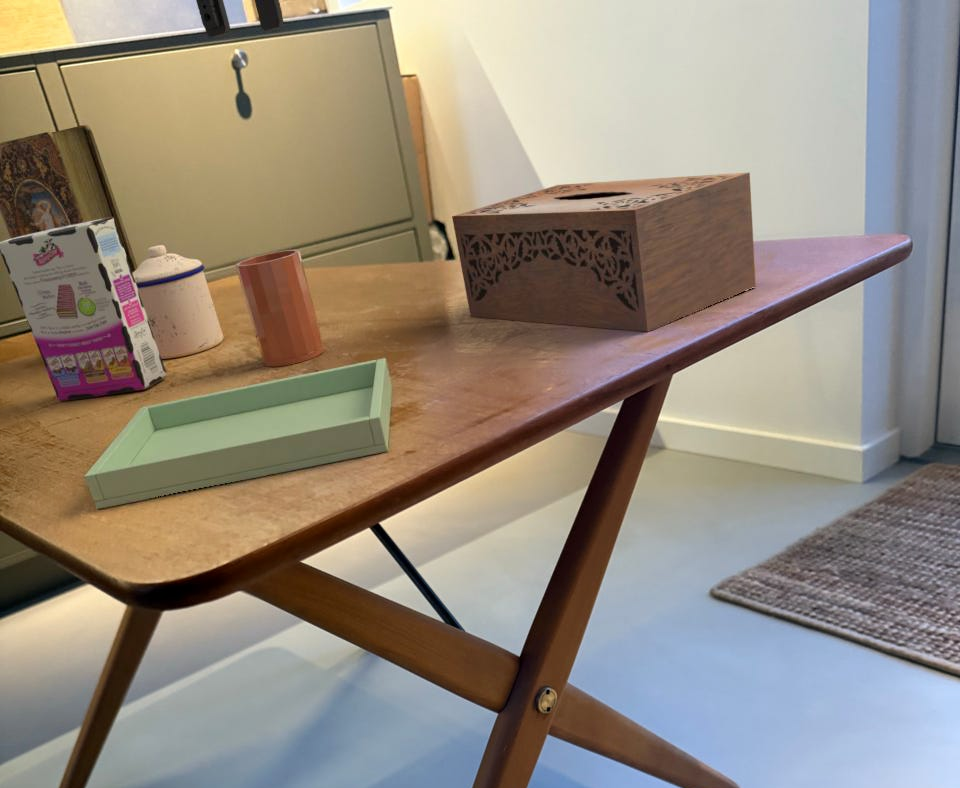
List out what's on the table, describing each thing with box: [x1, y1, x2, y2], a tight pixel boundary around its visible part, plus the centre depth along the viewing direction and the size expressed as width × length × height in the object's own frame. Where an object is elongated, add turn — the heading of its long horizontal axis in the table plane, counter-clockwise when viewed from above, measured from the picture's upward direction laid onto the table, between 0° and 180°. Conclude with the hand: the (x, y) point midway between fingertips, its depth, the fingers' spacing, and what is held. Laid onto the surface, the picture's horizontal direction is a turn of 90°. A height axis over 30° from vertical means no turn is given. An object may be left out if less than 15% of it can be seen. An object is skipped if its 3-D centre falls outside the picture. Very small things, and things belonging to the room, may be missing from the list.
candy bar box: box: [0, 217, 168, 402], centre depth 106 cm, size 11×5×16 cm, turn 76°
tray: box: [83, 357, 393, 510], centre depth 81 cm, size 22×18×3 cm
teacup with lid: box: [132, 244, 224, 360], centre depth 119 cm, size 12×9×12 cm
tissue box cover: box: [451, 172, 757, 333], centre depth 100 cm, size 26×14×10 cm, turn 38°
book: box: [0, 124, 139, 273], centre depth 126 cm, size 16×6×25 cm, turn 56°
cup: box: [234, 249, 325, 367], centre depth 105 cm, size 6×6×10 cm
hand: (247, 31), depth 95 cm, fingers open, 8 cm apart
